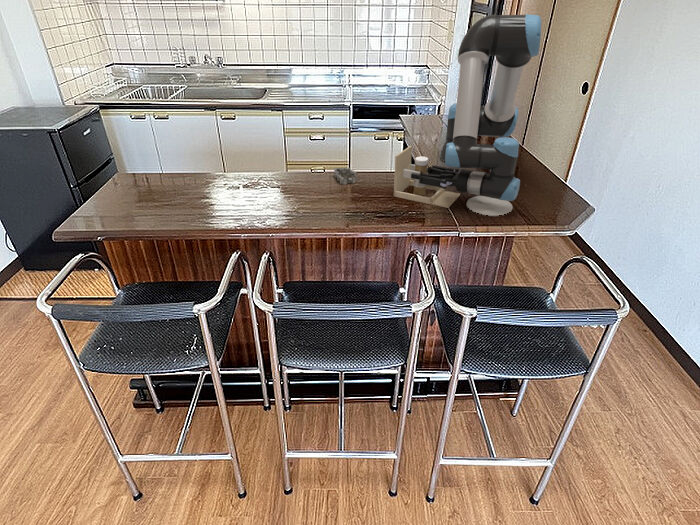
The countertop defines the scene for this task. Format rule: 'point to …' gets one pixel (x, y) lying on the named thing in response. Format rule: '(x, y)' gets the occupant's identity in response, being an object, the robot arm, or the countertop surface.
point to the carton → (402, 183)
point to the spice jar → (422, 166)
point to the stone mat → (489, 206)
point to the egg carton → (345, 175)
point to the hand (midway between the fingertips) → (407, 170)
